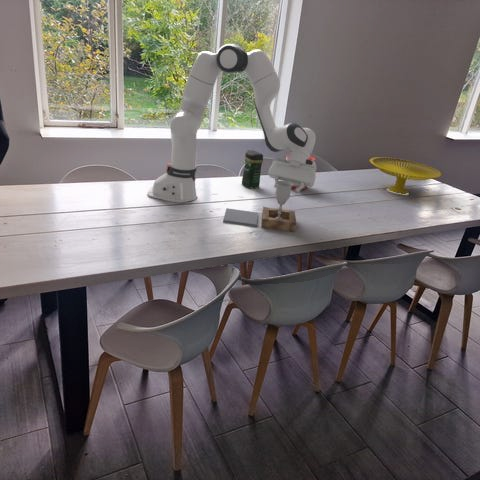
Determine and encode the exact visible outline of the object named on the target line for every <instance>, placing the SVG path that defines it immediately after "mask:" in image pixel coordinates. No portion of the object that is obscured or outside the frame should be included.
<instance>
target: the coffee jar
mask: <svg viewBox="0 0 480 480" xmlns="http://www.w3.org/2000/svg"><path fill="white" fill-rule="evenodd" d="M263 161H264V154H263V153H260V152H258V151H255V150H254V149H251V150H250V149H249V150H248V149H247V150H246V152H245V155H244V168H243V172H242V177H241V184H242V185H243V186H244V187H246V188H248V189H249V188H250V189H257V188H259V187H260V183H261V172H262V164H263Z"/></svg>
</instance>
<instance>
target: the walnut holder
mask: <svg viewBox="0 0 480 480" xmlns="http://www.w3.org/2000/svg"><path fill="white" fill-rule="evenodd" d="M278 212H279V209H278V208H275V207H274V208H273V207H268V206H263V208H262V212H261V225H260V226H261V228H262V229H263V228H264V229H268V230H277V231H285V232H293V233H295V232H296V228H297V218H296V211H295V210H290V209H289V210H288V209H283V208H282V210H281V215H280V217H281V218H282V219H278V218H276V217H278Z"/></svg>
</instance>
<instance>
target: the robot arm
mask: <svg viewBox="0 0 480 480" xmlns="http://www.w3.org/2000/svg"><path fill="white" fill-rule="evenodd" d="M222 72H223V73H226V74H235V73H241V72H242V73H244V74H245V75H246V77H247V78H248V81H249V83H250V84H251V88H252V89H253V93H254V94H253V95H254V100H253V101H254V102H253V103H254V107H255V111H256V114H257V117H258V119H259V124H260V126H261V129H262V132H263V136H264V142H265V145H266V147H267V148H268V149H269V150H270V151H271V152H273V153H278V152H281V151H283V150H286V149H289V150H290V152H289V153H290V154H289V153H288V154H289V156H288V159H287V160H286V159H282V158H275V159H273V160H272V163H271V166H270V167H269V169H268V176H269V177H270V178H271V179H274V185H273V187H274V188H275V189H276V187H277V184H276V182H277V181H288V182H291V183H296V184H300V185H301V186H300V187H299V188H297V187H296V190H295V193H296V194H299V193H300V192H301V191H302V190H301V189H303V188H304V186H307V188H311V187H314V186H315V182H316V178H317V176H316V175H317V174H316V172H317V164H316V161H315V162H314V161H312V160H310V159H309V156H311V154H312V153H313V151H314V148H315V144H316V136H317V135H316V133H315V132H314V131H313V130H312V129H311V128H309V127H302V126H300V124H298V123H296V122H290V123H288V124H284V125H283V126H282V125H281V126H279V127H277V125H276V123H275V120H274V118H273V114H272V111H271V104H272V102H273V101H274V99H275V98H276V97H277V95H278V93H279V91H280V87H281V83H280V78H279V76H278V74H277V72H276V70H275V67H274V66H273V63H272V62H271V59H270V58H269V57H268V56H267V54H266V53H265V51H264V50H262V49H257V48H256V49H252V50H251V51H248V52H247V51H245V50H244V48H243V47H242V46H241V45H240V44H237V43H234V42H230V43H229V42H228V43H226V44H224V45H222V46H220V47H219V48H218V50H217V52H216V53H214V52H212V51H208V50H204V51H201V52H199V54H198V55H197V57H196V59H195V60H194V62H193V64H192V67H191V69H190V72H189V75H188V77H187V80H186V83H185V86H184V89H183V91H182V97H181V103H180V106H179V109H178V112H177V113H176V114H175V115H173V117H172V118H171V121H170V126H169V128H170V141H171V163H170V162H169V163H168V164H167V166H166V167H165V169H166V171H165V172H166V173H164V174H162V175H160V176H159V177H157V178H156V179H155V180H154V182H153V185H152V187H150V188H149V189H148V191H147V196H148V197H149V198H154V199H158V200H162V201H168V202H172V203H178V204H179V203H183V202H191V201H194V200H196V199H197V197H198V195H197V190H196V180H197V173H198V172H197V170H198V169H197V155H198V149H197V133H198V131H199V129H200V128H201V126H202V122H203V119H204V117H205V113H206V109H207V106H208V104H209V101H210V98H211V95H212V93H213V90H214V87H215V84H216V81H217V79H218V76H219V75H220V73H222Z"/></svg>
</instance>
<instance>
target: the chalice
mask: <svg viewBox="0 0 480 480" xmlns="http://www.w3.org/2000/svg"><path fill="white" fill-rule="evenodd" d="M276 184H277V187H276V188H275V197H276V198H275V199H276V202H277V204H278V205H279V207H278V208H277V209H279V212H278V217H276V218H278V219H282V218H281V217H280V215H281V210H282V209H283V206H284V205H285V204H286V203H287V201H288V200H289V198H290V196H291V193H292V189H291V187H292V186H293V183H291V182H288V181H283V180H278V181H277V182H276Z"/></svg>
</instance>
